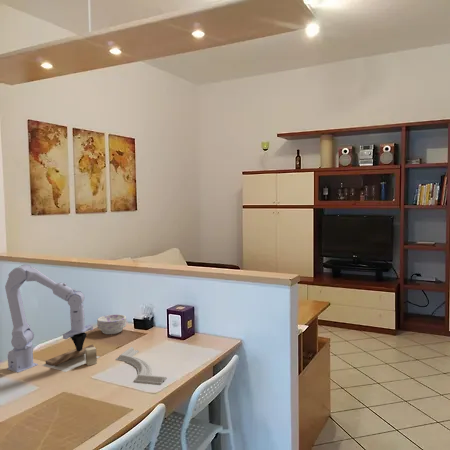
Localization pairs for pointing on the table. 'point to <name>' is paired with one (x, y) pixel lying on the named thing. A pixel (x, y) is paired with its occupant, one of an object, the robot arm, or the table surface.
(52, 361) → the laid plank
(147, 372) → the molding
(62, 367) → the underlay
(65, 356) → the board
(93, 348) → the block
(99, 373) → the table surface
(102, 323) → the paper bowls
